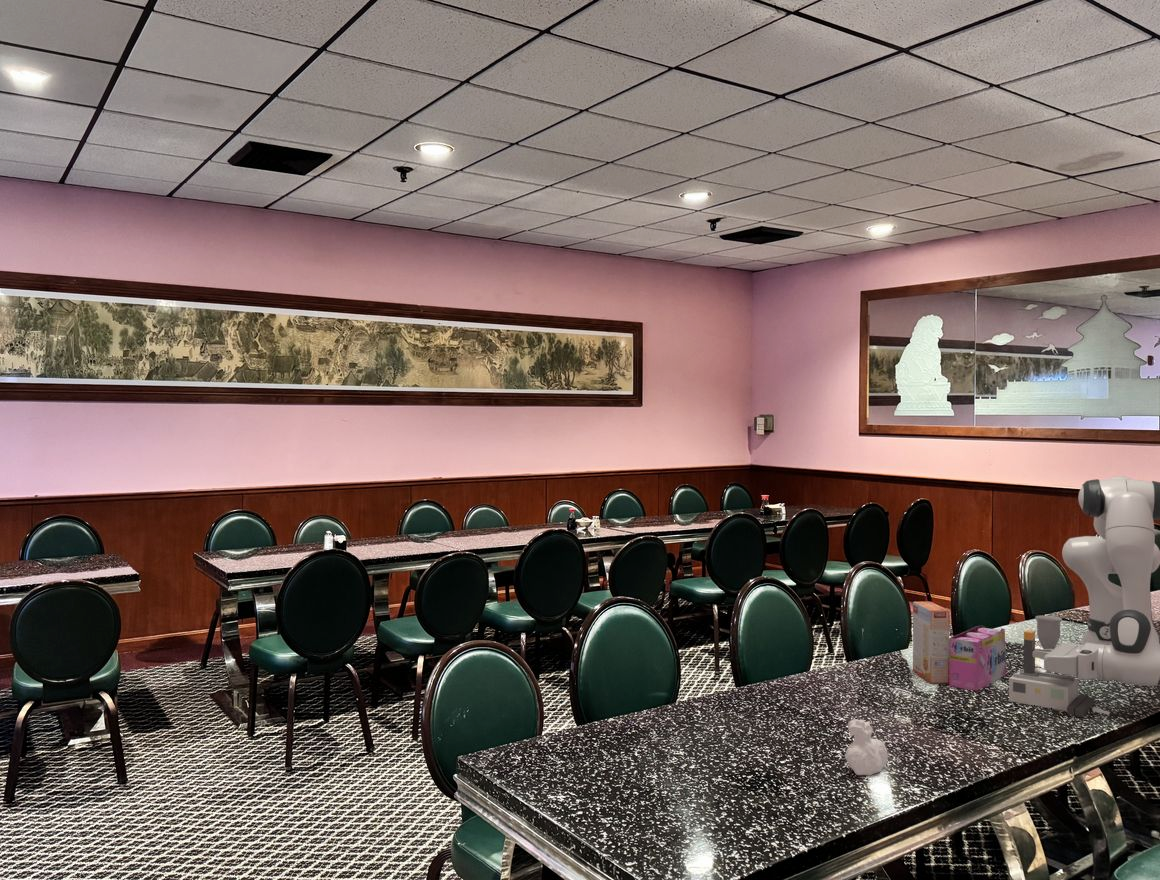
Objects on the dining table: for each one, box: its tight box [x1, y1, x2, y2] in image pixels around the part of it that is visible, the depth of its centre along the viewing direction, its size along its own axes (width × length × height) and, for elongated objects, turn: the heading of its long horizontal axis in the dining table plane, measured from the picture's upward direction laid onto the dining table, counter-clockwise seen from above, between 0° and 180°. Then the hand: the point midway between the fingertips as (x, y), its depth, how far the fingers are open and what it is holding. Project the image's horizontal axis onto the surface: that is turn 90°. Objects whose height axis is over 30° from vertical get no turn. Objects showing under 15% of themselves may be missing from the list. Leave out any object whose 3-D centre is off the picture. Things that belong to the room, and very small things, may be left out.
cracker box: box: [912, 601, 951, 685], centre depth 264 cm, size 14×6×21 cm, turn 179°
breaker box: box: [1008, 668, 1079, 712], centre depth 240 cm, size 11×14×7 cm
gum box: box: [948, 625, 1007, 692], centre depth 261 cm, size 24×8×14 cm, turn 136°
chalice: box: [1035, 615, 1063, 674], centre depth 259 cm, size 7×7×18 cm
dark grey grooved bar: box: [1066, 693, 1096, 718], centre depth 234 cm, size 16×3×2 cm, turn 140°
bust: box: [844, 718, 889, 777], centre depth 192 cm, size 12×8×11 cm
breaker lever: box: [1020, 629, 1040, 677], centre depth 242 cm, size 4×4×12 cm
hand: (1033, 652), depth 242 cm, fingers closed, pressing on breaker lever
